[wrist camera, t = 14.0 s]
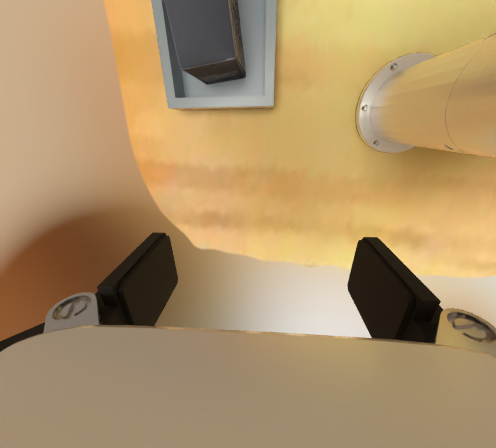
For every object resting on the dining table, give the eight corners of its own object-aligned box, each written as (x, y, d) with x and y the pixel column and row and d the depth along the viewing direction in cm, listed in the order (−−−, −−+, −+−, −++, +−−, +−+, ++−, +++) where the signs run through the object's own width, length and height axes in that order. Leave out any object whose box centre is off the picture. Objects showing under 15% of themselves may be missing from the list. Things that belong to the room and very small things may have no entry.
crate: (277, -60, 25) (280, -100, 20) (272, 108, 32) (273, 105, 28) (159, -50, 26) (137, -87, 21) (181, 110, 33) (168, 108, 29)
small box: (184, -12, 27) (139, -87, 17) (234, -25, 26) (217, -111, 16) (203, 86, 31) (176, 70, 22) (247, 78, 30) (239, 57, 21)
